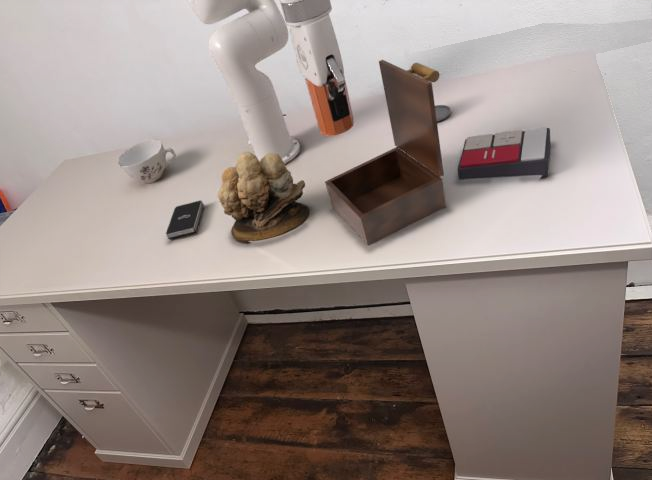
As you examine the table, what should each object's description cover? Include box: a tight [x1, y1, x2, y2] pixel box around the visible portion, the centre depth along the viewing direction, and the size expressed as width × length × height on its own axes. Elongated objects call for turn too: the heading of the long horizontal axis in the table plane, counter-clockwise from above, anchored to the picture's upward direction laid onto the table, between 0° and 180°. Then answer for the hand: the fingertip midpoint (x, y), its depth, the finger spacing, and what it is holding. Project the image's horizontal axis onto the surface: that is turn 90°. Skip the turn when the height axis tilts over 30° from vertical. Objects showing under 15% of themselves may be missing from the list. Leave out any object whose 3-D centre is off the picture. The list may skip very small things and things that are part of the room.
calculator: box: [457, 127, 551, 180], centre depth 97 cm, size 11×4×15 cm
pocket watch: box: [435, 104, 452, 122], centre depth 116 cm, size 8×8×10 cm
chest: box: [324, 146, 447, 246], centre depth 97 cm, size 16×16×7 cm
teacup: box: [117, 139, 176, 184], centre depth 140 cm, size 15×12×8 cm
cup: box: [304, 73, 355, 137], centre depth 92 cm, size 6×6×10 cm
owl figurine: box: [217, 151, 310, 245], centre depth 103 cm, size 18×12×17 cm, turn 89°
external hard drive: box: [165, 199, 205, 241], centre depth 118 cm, size 7×11×2 cm, turn 176°
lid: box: [378, 59, 445, 178], centre depth 90 cm, size 17×16×5 cm
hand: (332, 110), depth 93 cm, fingers closed on cup, 6 cm apart
